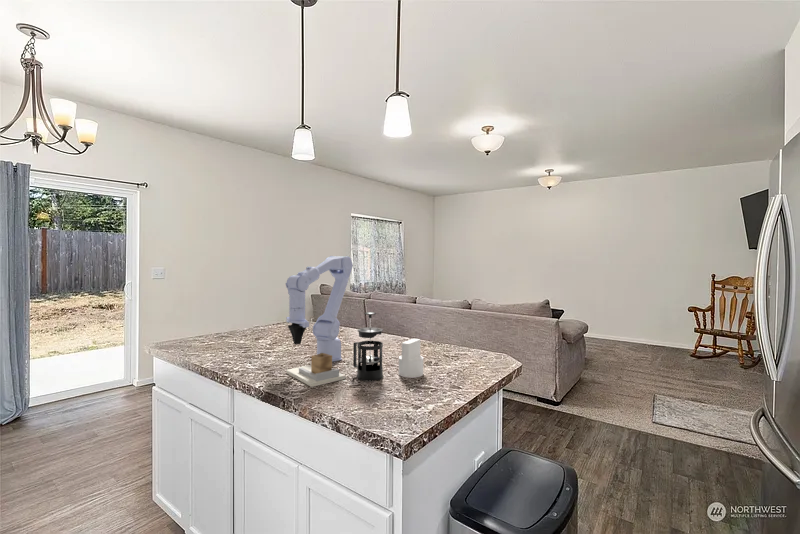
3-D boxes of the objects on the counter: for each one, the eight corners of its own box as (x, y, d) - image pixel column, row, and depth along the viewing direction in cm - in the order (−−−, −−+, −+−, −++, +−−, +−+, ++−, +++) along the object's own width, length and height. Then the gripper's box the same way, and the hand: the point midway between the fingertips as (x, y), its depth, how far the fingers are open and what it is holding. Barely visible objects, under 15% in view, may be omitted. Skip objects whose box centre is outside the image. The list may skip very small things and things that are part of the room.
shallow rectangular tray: (318, 366, 144) (318, 357, 144) (345, 378, 129) (345, 368, 129) (286, 373, 135) (286, 363, 135) (311, 387, 121) (311, 376, 121)
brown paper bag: (323, 372, 132) (323, 350, 132) (331, 375, 129) (332, 353, 129) (311, 375, 129) (311, 353, 128) (320, 379, 125) (320, 356, 125)
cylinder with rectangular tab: (415, 379, 130) (415, 345, 129) (393, 374, 134) (394, 341, 134) (427, 372, 137) (427, 340, 137) (406, 368, 142) (406, 337, 142)
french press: (389, 375, 134) (389, 311, 133) (377, 383, 125) (377, 315, 125) (361, 370, 138) (361, 309, 138) (347, 378, 130) (347, 312, 129)
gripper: (278, 306, 141) (278, 342, 141) (296, 310, 130) (296, 349, 130) (296, 305, 145) (296, 339, 146) (314, 309, 134) (314, 346, 135)
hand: (297, 344), depth 138 cm, fingers closed
